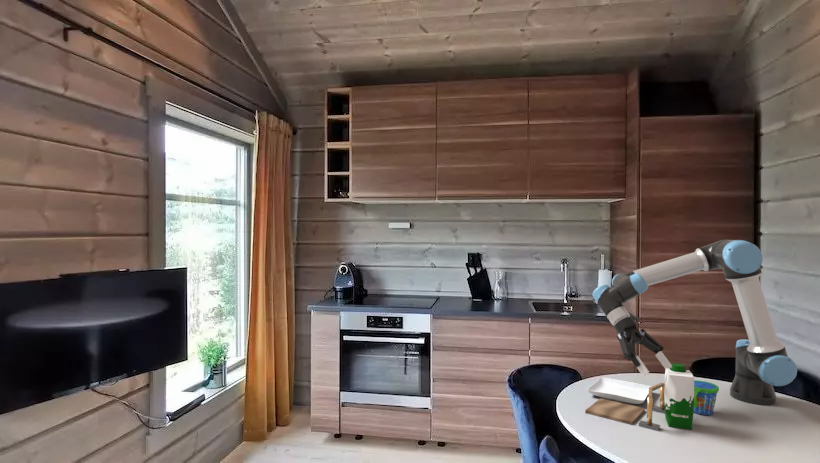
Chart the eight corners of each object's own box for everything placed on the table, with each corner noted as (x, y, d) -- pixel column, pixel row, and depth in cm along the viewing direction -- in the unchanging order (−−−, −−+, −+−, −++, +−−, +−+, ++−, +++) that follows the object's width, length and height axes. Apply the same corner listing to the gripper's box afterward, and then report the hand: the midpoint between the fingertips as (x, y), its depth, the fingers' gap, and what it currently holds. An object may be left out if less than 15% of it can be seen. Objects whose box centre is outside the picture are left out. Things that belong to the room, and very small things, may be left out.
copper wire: (672, 412, 180) (672, 383, 180) (657, 430, 164) (658, 399, 164) (654, 408, 184) (655, 380, 184) (638, 425, 168) (639, 395, 167)
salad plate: (600, 383, 213) (600, 375, 212) (654, 394, 200) (654, 385, 200) (585, 397, 195) (586, 389, 195) (644, 410, 183) (644, 400, 183)
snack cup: (697, 403, 189) (697, 376, 189) (726, 412, 181) (727, 384, 180) (675, 411, 181) (675, 384, 181) (705, 421, 172) (706, 392, 172)
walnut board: (644, 411, 181) (644, 408, 181) (632, 424, 169) (632, 421, 169) (600, 400, 191) (600, 398, 191) (585, 412, 179) (585, 410, 179)
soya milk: (690, 421, 172) (691, 364, 172) (695, 431, 164) (696, 371, 163) (662, 417, 175) (663, 361, 175) (665, 427, 167) (667, 368, 166)
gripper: (636, 324, 196) (671, 371, 183) (594, 330, 184) (628, 382, 171) (649, 313, 191) (686, 361, 179) (606, 318, 179) (643, 371, 166)
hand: (658, 371), depth 175 cm, fingers open, 13 cm apart
